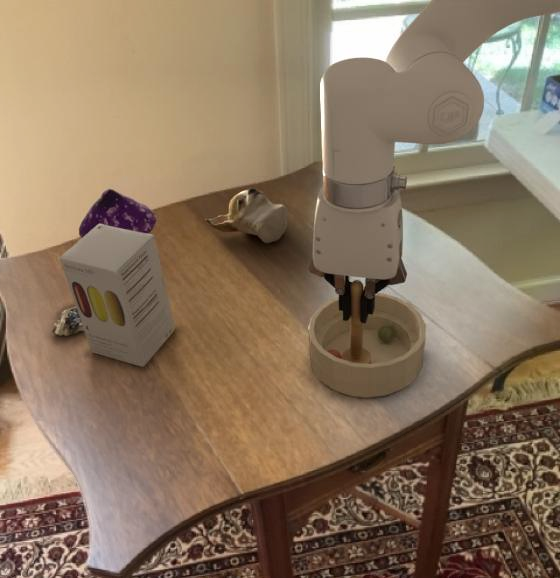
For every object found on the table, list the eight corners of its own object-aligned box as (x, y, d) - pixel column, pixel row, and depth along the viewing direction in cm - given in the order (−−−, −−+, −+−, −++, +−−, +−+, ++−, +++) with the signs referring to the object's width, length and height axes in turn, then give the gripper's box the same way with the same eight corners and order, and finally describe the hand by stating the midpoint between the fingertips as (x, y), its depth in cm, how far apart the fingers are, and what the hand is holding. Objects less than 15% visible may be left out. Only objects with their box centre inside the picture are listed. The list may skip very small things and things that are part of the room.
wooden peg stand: (377, 362, 90) (380, 280, 80) (357, 377, 88) (358, 295, 78) (355, 349, 92) (355, 267, 82) (335, 363, 90) (333, 282, 81)
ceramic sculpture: (260, 212, 105) (196, 191, 113) (267, 258, 111) (205, 235, 119) (302, 185, 111) (238, 167, 119) (306, 230, 116) (245, 211, 124)
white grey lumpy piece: (55, 344, 99) (51, 334, 97) (48, 313, 104) (44, 304, 103) (99, 331, 100) (96, 321, 99) (90, 302, 106) (87, 292, 104)
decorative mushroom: (142, 241, 118) (122, 163, 107) (181, 269, 110) (164, 188, 100) (80, 270, 112) (53, 191, 102) (116, 302, 105) (91, 220, 95)
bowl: (444, 357, 91) (449, 324, 87) (371, 418, 84) (372, 385, 80) (361, 311, 99) (361, 278, 95) (287, 362, 92) (285, 329, 88)
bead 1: (345, 356, 88) (328, 351, 88) (338, 372, 89) (322, 367, 89) (343, 349, 90) (326, 344, 90) (337, 364, 91) (320, 359, 91)
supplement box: (90, 353, 97) (55, 257, 85) (124, 315, 103) (96, 221, 91) (144, 368, 93) (116, 271, 82) (177, 329, 99) (155, 232, 88)
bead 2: (389, 344, 91) (392, 326, 91) (373, 341, 92) (376, 324, 92) (396, 344, 93) (399, 327, 93) (381, 341, 94) (384, 324, 94)
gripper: (435, 172, 72) (422, 304, 85) (297, 162, 76) (305, 290, 89) (426, 207, 67) (414, 342, 80) (279, 195, 71) (289, 326, 84)
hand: (356, 314), depth 84 cm, fingers closed on wooden peg stand, 1 cm apart
